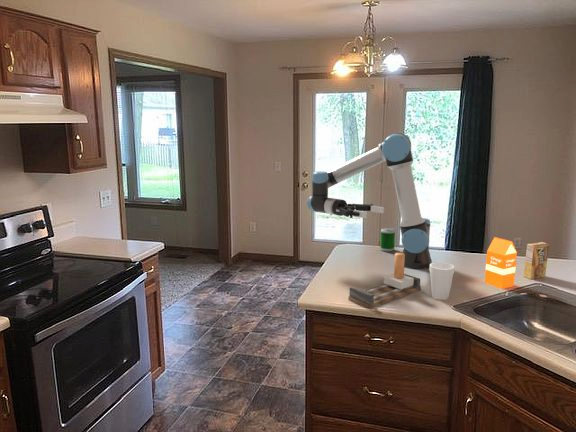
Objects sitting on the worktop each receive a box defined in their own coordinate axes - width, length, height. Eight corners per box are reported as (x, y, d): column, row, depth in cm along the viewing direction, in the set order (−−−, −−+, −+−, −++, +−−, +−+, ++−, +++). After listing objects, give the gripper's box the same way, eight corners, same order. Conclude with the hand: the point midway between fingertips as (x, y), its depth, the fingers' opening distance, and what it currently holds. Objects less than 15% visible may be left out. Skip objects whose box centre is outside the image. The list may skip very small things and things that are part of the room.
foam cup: (424, 292, 189) (426, 262, 186) (446, 291, 190) (448, 261, 187) (433, 301, 180) (435, 270, 177) (456, 300, 181) (458, 269, 178)
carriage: (396, 279, 197) (397, 250, 195) (413, 285, 190) (414, 254, 188) (383, 283, 193) (384, 253, 190) (400, 289, 186) (402, 258, 183)
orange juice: (501, 288, 193) (505, 242, 188) (484, 282, 200) (487, 237, 196) (514, 285, 196) (518, 240, 192) (496, 279, 204) (500, 235, 200)
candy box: (537, 274, 210) (541, 241, 207) (545, 277, 206) (549, 244, 203) (523, 276, 207) (526, 243, 204) (530, 279, 203) (534, 246, 200)
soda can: (394, 252, 246) (395, 230, 244) (380, 251, 248) (380, 230, 245) (394, 248, 254) (395, 227, 251) (380, 247, 255) (380, 226, 253)
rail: (399, 282, 201) (400, 271, 200) (420, 289, 192) (421, 278, 191) (348, 299, 183) (348, 287, 182) (368, 308, 174) (369, 296, 173)
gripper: (351, 210, 225) (389, 216, 211) (319, 219, 207) (358, 226, 193) (351, 195, 223) (390, 200, 209) (319, 202, 205) (359, 208, 191)
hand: (375, 212), depth 201 cm, fingers open, 13 cm apart
